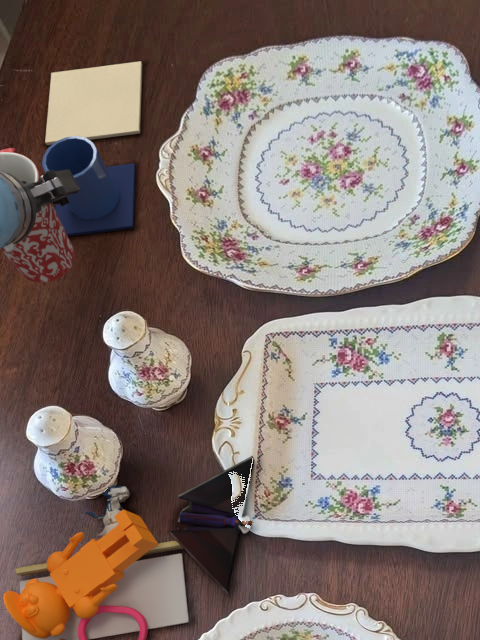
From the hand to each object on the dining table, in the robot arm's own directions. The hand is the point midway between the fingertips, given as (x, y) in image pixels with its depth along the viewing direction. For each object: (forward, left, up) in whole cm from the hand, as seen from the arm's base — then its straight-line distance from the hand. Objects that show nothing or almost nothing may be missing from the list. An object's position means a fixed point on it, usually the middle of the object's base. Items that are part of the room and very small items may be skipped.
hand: (21, 207), depth 98 cm
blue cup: (+1, +16, -17) cm, 23 cm away
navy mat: (+1, +16, -17) cm, 23 cm away
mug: (+1, -3, -5) cm, 6 cm away
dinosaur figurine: (+9, -42, -14) cm, 45 cm away
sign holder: (+5, -41, -16) cm, 44 cm away
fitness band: (+7, -50, -17) cm, 54 cm away
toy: (+5, -44, -16) cm, 47 cm away
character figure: (+14, -37, -16) cm, 43 cm away
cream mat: (0, +36, -17) cm, 40 cm away
